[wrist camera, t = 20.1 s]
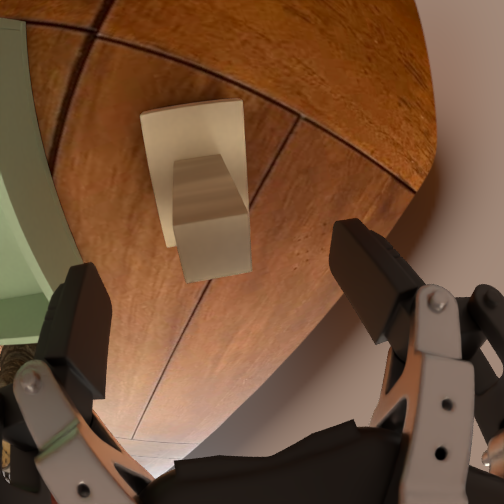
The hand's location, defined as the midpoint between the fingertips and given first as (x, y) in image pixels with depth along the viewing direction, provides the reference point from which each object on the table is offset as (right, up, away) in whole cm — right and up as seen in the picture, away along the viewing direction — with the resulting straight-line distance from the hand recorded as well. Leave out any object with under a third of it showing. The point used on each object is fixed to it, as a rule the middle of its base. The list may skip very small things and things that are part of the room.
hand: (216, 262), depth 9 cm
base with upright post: (-3, +6, +9) cm, 11 cm away
